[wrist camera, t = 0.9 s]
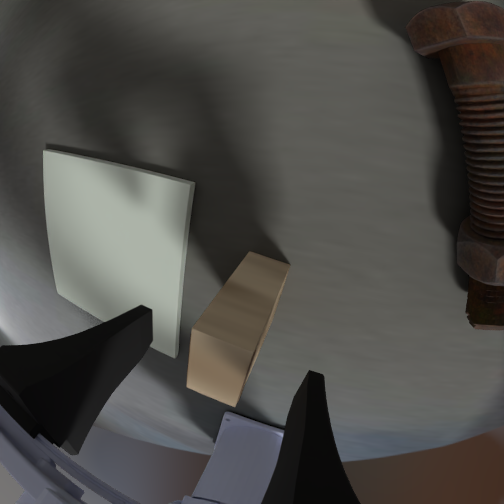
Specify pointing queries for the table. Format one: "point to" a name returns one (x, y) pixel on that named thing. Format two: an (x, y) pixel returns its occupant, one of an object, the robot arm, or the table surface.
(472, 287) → the bolt
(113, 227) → the board
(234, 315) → the slab
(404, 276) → the table surface
